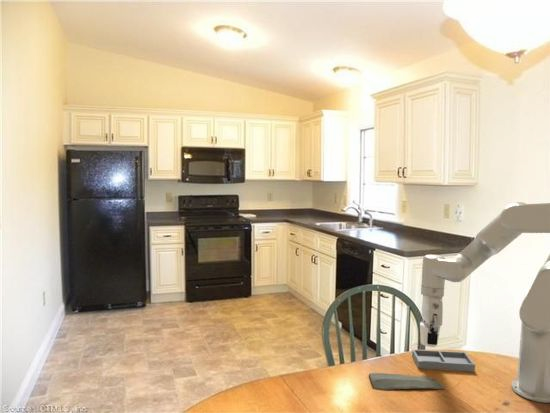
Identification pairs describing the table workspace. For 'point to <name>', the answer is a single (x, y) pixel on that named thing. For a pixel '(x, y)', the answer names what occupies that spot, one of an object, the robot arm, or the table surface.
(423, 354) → the tray
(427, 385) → the stone slab
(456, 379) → the table surface
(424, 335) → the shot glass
